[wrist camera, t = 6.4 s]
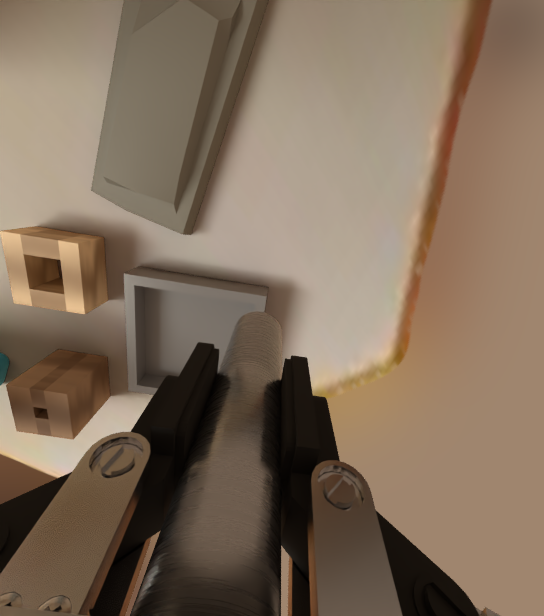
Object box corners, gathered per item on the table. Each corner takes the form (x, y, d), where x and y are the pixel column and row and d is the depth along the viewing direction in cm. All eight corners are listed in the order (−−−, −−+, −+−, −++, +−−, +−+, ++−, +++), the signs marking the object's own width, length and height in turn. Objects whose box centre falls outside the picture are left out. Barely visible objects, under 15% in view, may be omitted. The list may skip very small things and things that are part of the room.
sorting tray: (138, 266, 31) (123, 273, 28) (268, 287, 31) (266, 296, 28) (140, 375, 36) (128, 390, 33) (251, 392, 36) (249, 409, 33)
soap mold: (273, -2, 23) (271, -34, 19) (193, 234, 30) (182, 239, 26) (148, -73, 21) (123, -120, 18) (96, 191, 29) (72, 190, 25)
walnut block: (58, 349, 35) (6, 384, 28) (107, 356, 35) (67, 394, 28) (63, 389, 37) (16, 431, 30) (110, 396, 37) (73, 439, 31)
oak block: (35, 226, 29) (-1, 231, 26) (104, 237, 30) (77, 243, 26) (45, 290, 32) (13, 303, 28) (108, 300, 32) (84, 314, 28)
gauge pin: (235, 306, 14) (25, 806, 3) (287, 314, 14) (305, 834, 3) (230, 352, 15) (62, 860, 3) (279, 358, 15) (266, 882, 4)
